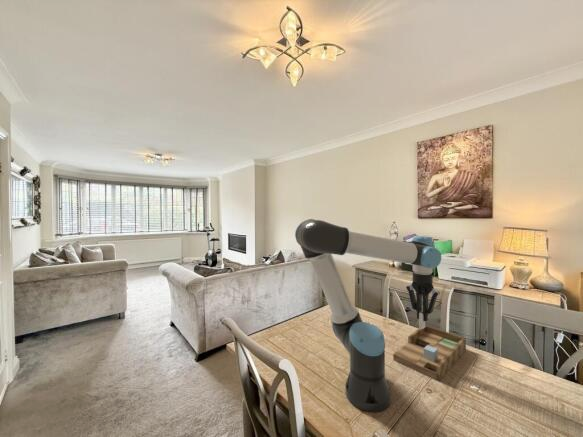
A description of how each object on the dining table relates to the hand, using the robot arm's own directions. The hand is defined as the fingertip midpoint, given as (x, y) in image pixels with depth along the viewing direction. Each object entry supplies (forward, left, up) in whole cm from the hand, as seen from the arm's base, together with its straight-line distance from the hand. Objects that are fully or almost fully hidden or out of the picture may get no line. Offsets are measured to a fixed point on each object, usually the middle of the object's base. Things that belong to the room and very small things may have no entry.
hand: (422, 327), depth 104 cm
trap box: (+7, -1, -14) cm, 16 cm away
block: (0, -3, -12) cm, 12 cm away
